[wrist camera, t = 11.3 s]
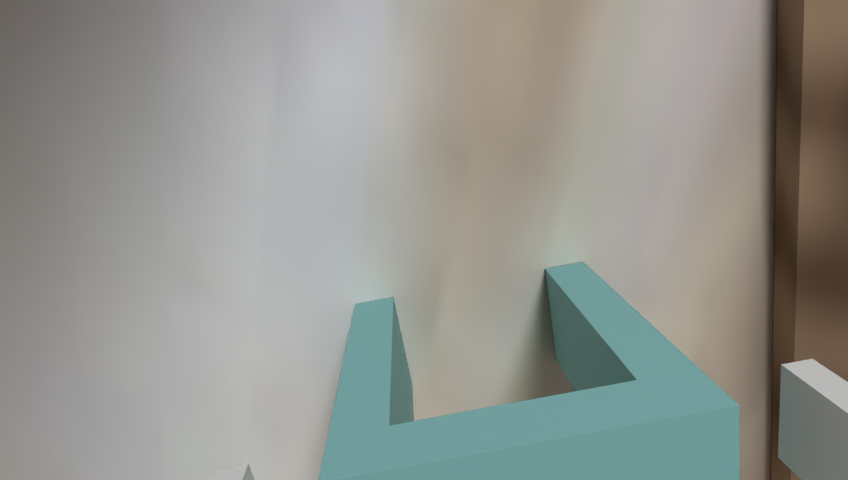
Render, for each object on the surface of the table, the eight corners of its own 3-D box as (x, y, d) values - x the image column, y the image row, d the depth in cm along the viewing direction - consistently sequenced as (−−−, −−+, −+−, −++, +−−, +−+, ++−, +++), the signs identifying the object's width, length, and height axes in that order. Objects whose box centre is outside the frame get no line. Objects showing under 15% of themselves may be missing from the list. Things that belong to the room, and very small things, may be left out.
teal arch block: (355, 304, 20) (317, 483, 11) (583, 261, 20) (739, 405, 11) (376, 392, 21) (358, 622, 12) (592, 352, 21) (740, 552, 12)
